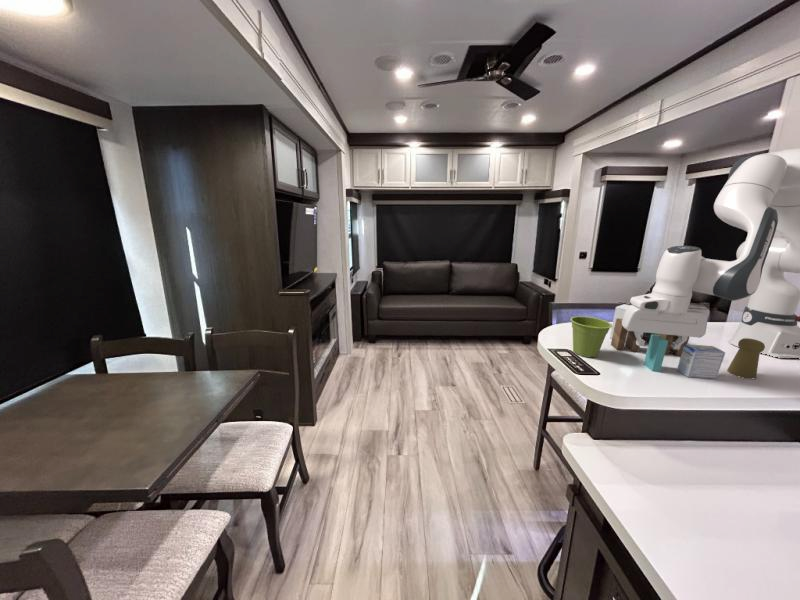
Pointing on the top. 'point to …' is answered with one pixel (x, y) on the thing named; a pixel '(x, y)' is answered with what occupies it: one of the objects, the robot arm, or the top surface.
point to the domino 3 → (655, 353)
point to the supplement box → (618, 316)
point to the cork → (746, 358)
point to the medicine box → (700, 361)
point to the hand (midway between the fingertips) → (657, 347)
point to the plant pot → (588, 335)
